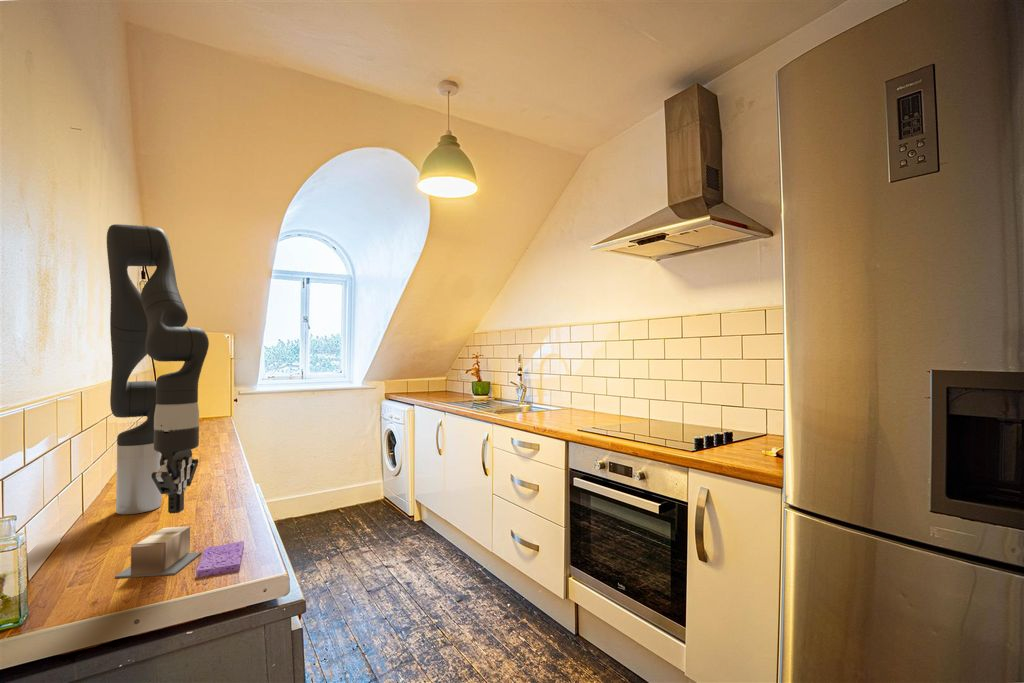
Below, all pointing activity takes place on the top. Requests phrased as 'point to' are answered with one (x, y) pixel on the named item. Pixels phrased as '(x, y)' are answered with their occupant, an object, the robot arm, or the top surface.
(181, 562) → the mat
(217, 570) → the sponges
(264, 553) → the top surface
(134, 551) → the birch block
